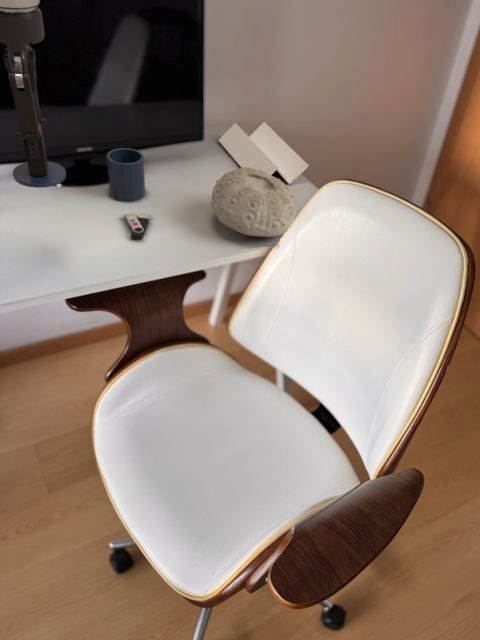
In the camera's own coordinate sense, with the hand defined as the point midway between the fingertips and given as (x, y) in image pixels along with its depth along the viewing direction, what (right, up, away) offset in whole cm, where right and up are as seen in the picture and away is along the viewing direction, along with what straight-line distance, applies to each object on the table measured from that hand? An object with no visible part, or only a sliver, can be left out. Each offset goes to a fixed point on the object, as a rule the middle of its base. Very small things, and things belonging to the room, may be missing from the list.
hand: (38, 170), depth 89 cm
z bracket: (+38, +19, +50) cm, 65 cm away
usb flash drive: (+11, -5, +21) cm, 24 cm away
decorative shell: (+34, -2, +27) cm, 43 cm away
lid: (0, -1, +1) cm, 1 cm away
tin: (+7, +5, +30) cm, 31 cm away
